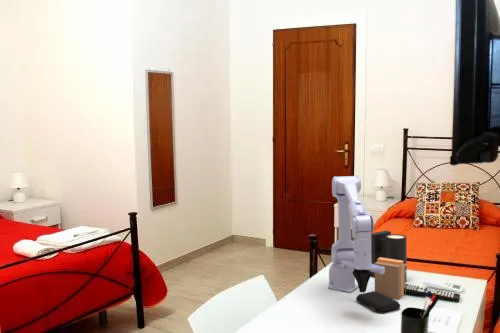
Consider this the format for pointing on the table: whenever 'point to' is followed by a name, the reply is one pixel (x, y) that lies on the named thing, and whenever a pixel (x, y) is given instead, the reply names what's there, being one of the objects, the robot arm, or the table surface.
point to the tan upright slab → (390, 278)
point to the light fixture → (388, 248)
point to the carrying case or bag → (378, 302)
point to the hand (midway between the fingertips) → (362, 291)
